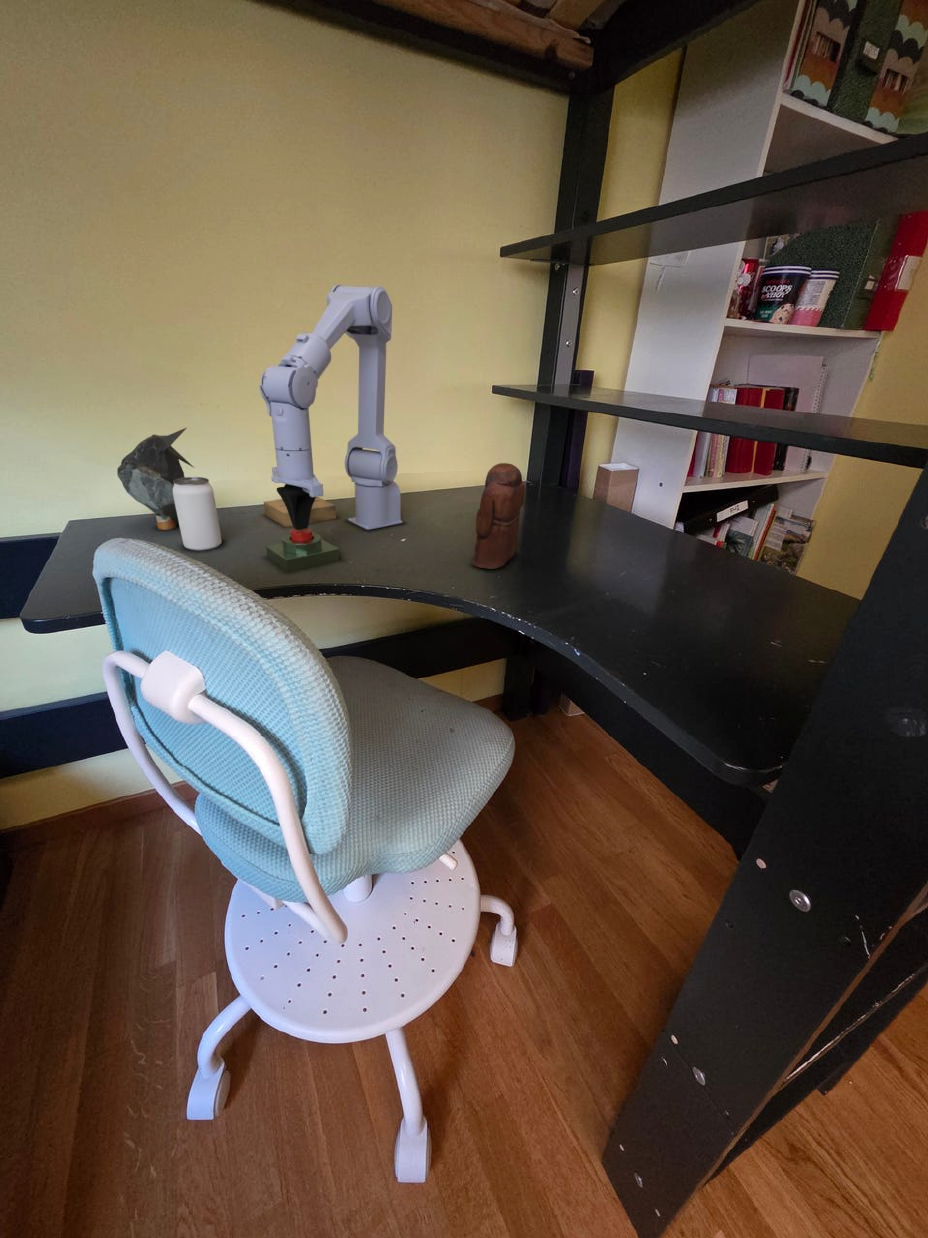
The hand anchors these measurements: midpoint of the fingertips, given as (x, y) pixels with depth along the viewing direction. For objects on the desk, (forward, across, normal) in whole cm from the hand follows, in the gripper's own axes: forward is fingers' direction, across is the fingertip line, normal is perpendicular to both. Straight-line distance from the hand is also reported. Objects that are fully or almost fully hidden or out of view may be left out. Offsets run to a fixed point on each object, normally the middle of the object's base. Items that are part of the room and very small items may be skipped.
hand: (300, 528), depth 90 cm
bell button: (+2, 0, 0) cm, 2 cm away
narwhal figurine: (+6, -32, -13) cm, 35 cm away
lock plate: (+6, -23, +11) cm, 26 cm away
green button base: (+6, 0, 0) cm, 6 cm away
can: (+6, -16, -12) cm, 21 cm away
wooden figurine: (+6, +20, +29) cm, 36 cm away
